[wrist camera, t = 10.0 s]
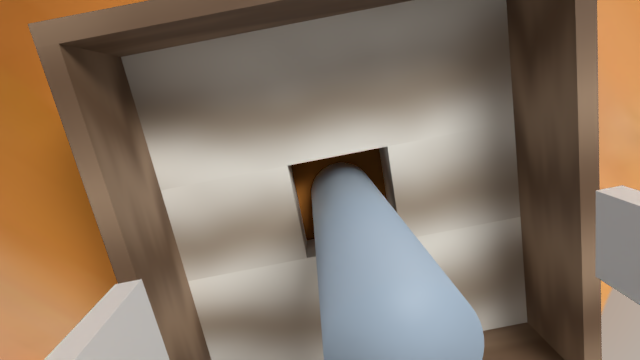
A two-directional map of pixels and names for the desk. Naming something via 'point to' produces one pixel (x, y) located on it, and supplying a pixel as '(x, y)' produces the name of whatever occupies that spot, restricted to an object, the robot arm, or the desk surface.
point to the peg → (382, 280)
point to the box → (334, 140)
